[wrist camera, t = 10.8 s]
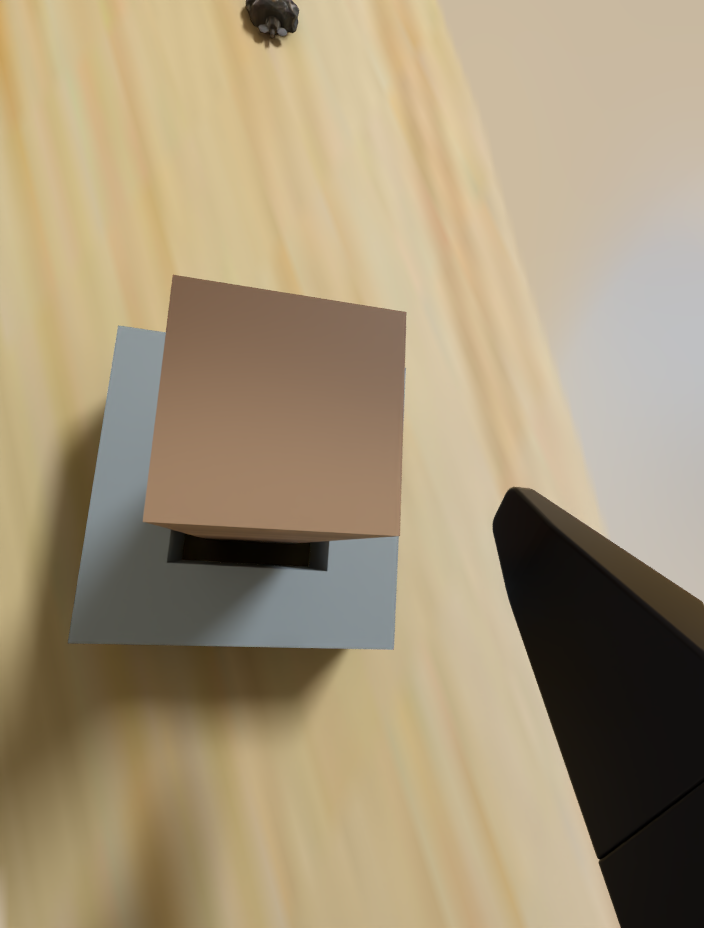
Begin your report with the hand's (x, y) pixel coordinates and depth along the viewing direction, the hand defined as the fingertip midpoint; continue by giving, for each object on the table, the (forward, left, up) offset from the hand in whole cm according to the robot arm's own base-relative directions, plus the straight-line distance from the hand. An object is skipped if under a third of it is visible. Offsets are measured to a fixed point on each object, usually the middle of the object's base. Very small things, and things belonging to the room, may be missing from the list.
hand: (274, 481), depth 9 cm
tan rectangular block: (+1, 0, -10) cm, 10 cm away
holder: (+1, 0, -10) cm, 10 cm away
